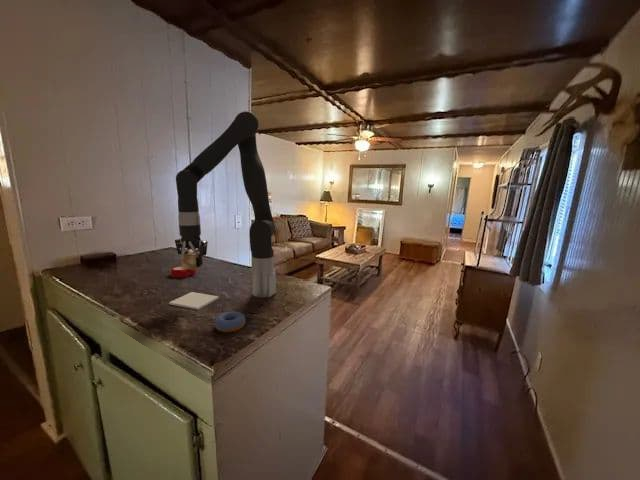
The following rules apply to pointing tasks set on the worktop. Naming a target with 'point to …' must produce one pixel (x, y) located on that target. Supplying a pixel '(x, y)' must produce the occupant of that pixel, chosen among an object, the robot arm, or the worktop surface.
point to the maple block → (189, 261)
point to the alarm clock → (181, 272)
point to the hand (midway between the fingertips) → (192, 265)
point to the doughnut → (230, 321)
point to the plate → (194, 300)
